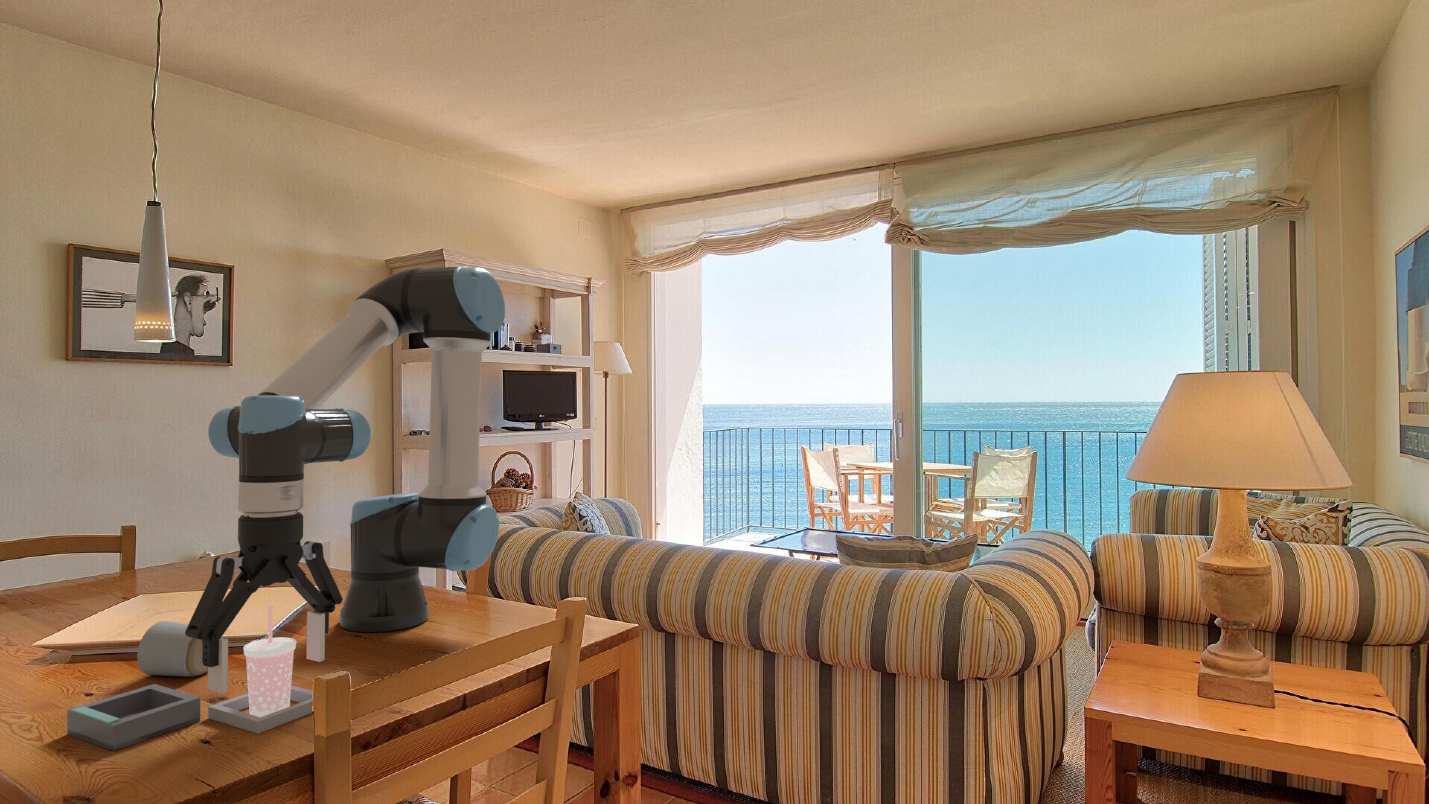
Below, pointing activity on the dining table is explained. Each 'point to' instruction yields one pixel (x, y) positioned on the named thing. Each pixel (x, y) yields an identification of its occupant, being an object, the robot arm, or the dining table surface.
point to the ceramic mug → (170, 651)
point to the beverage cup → (269, 672)
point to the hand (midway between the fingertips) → (269, 674)
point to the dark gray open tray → (133, 716)
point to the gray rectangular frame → (234, 717)
